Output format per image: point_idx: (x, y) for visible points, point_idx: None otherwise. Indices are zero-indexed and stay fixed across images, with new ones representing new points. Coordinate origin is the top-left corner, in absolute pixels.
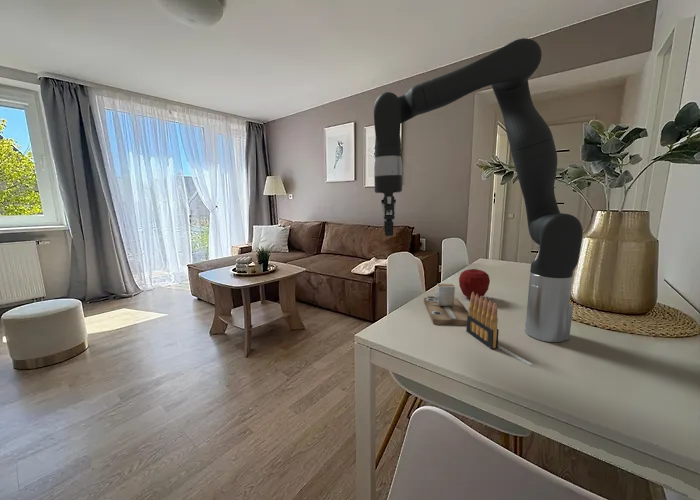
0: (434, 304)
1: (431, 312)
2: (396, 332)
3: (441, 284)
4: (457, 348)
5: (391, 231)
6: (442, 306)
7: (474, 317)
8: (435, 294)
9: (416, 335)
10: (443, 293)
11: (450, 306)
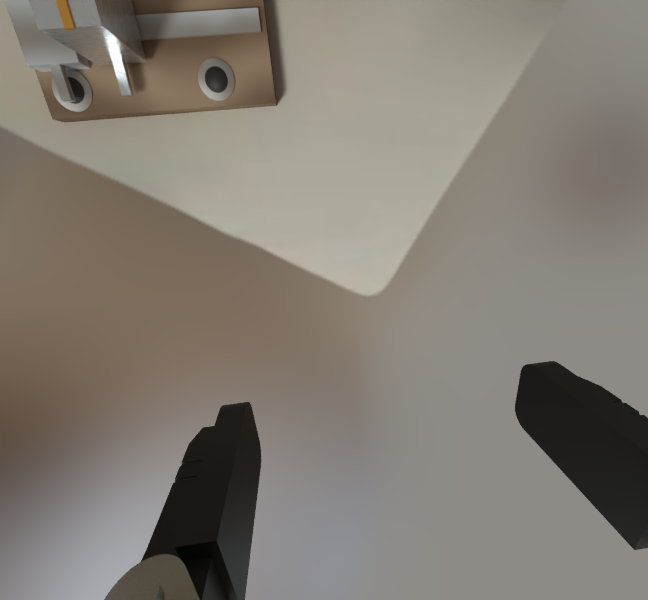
0: None
1: (214, 101)
2: (348, 217)
3: (46, 3)
4: (421, 50)
5: (606, 393)
6: None
7: None
8: (26, 58)
9: (359, 163)
10: (113, 15)
11: None
